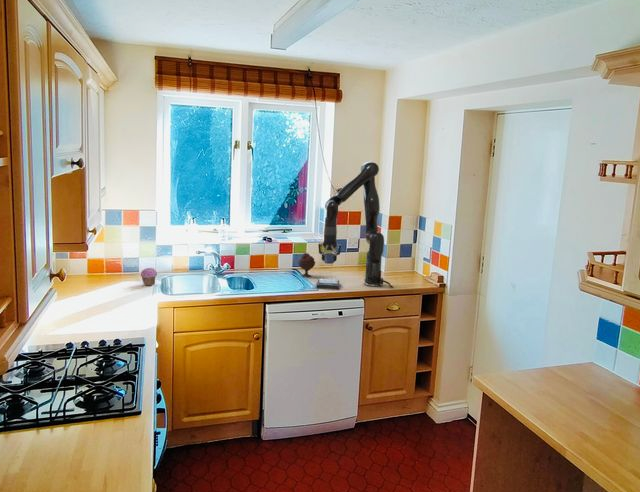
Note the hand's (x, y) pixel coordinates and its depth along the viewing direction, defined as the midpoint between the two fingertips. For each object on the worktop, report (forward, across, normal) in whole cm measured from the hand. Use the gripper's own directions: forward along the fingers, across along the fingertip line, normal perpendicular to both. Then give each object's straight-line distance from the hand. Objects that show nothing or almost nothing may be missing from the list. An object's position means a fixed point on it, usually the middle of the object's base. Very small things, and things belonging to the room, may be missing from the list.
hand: (329, 260), depth 281 cm
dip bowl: (+1, 0, 0) cm, 1 cm away
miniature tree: (+15, -15, +19) cm, 28 cm away
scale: (+15, 0, -2) cm, 15 cm away
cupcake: (+15, -103, -23) cm, 106 cm away
